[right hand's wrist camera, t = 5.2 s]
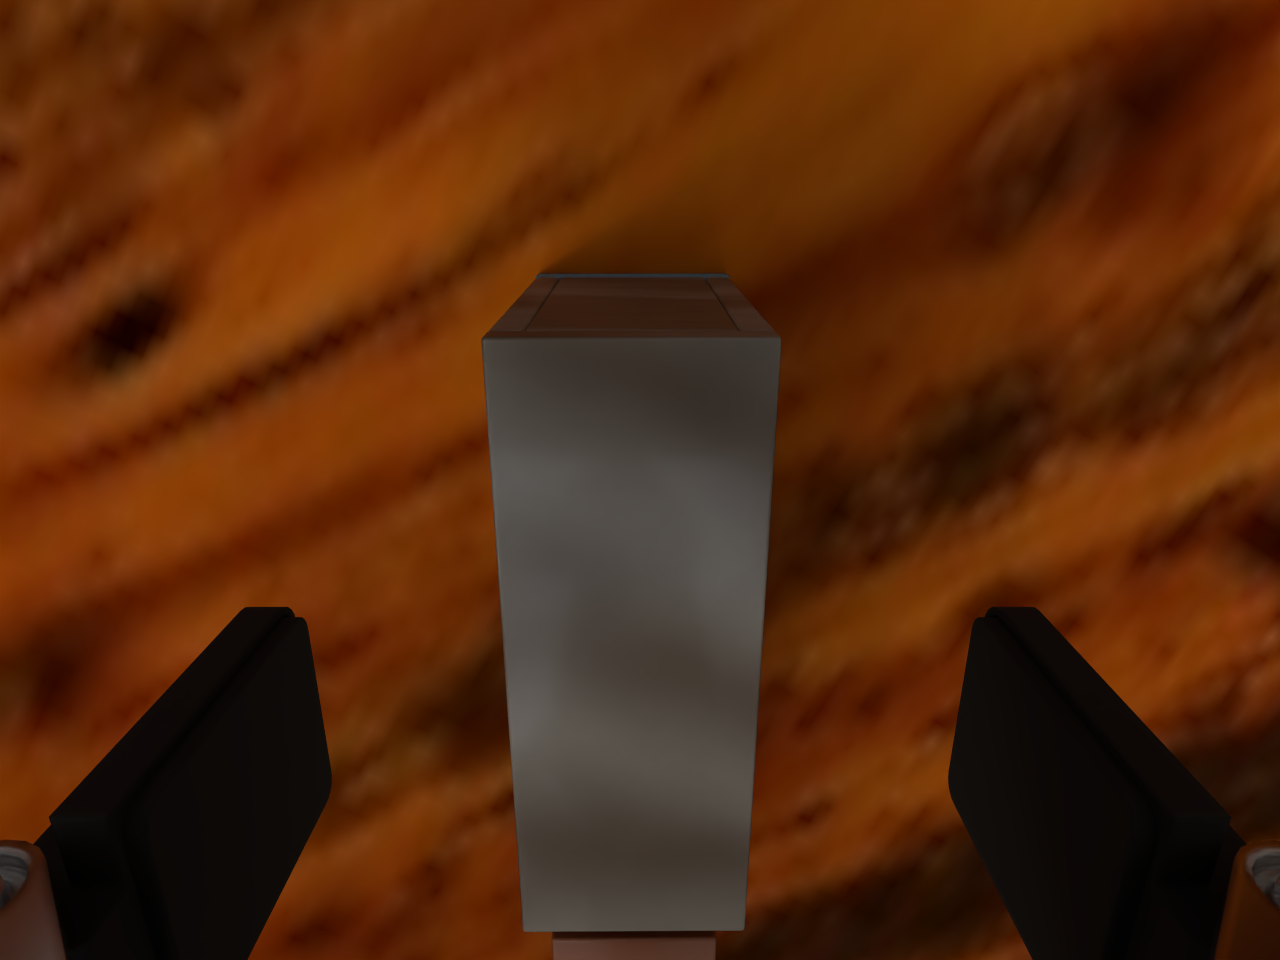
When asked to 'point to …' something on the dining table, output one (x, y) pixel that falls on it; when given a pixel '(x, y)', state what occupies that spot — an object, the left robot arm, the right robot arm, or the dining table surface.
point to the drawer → (634, 945)
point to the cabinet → (632, 591)
